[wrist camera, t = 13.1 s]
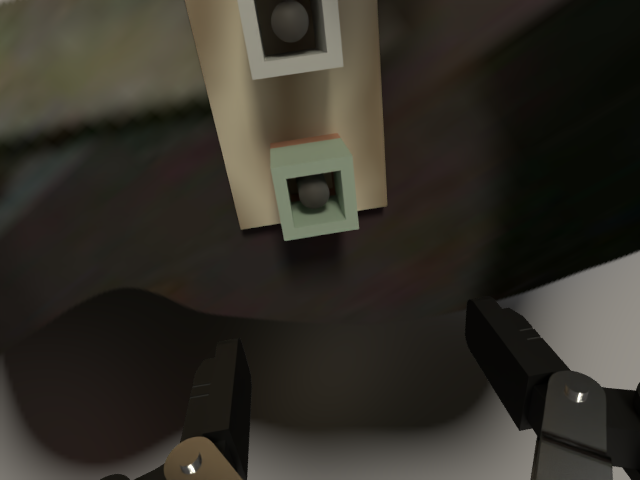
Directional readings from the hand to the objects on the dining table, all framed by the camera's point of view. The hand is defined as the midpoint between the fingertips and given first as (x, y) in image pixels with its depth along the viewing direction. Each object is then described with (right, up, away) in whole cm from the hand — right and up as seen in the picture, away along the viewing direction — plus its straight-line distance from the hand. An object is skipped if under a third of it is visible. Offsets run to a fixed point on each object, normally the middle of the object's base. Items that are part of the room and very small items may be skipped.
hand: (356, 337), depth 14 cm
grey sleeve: (-3, +17, +12) cm, 21 cm away
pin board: (-3, +14, +15) cm, 21 cm away
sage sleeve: (-2, +9, +17) cm, 19 cm away
